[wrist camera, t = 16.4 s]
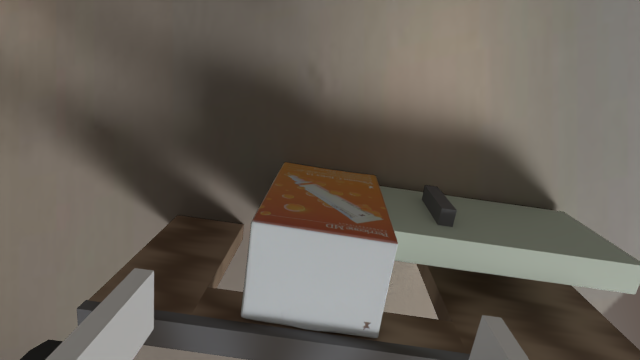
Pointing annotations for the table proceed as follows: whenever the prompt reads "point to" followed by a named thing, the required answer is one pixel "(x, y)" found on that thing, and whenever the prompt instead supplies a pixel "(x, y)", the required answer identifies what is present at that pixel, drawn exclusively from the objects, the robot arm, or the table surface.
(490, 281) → the wall frame
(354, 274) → the small box
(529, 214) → the sliding door
